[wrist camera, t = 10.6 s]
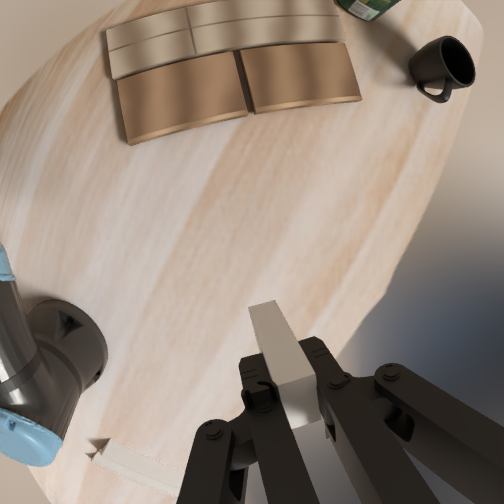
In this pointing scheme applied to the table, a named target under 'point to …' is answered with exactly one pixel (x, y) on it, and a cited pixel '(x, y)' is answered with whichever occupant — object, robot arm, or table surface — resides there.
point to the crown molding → (139, 468)
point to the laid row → (219, 31)
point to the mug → (442, 67)
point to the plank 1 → (181, 97)
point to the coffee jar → (367, 7)
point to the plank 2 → (299, 76)
